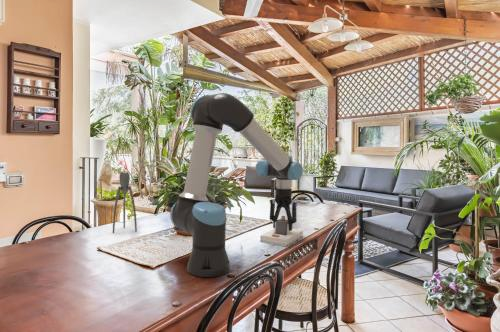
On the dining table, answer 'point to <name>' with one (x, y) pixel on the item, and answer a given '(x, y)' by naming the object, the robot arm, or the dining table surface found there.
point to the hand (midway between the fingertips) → (282, 235)
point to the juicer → (124, 188)
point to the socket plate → (281, 237)
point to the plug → (281, 226)
